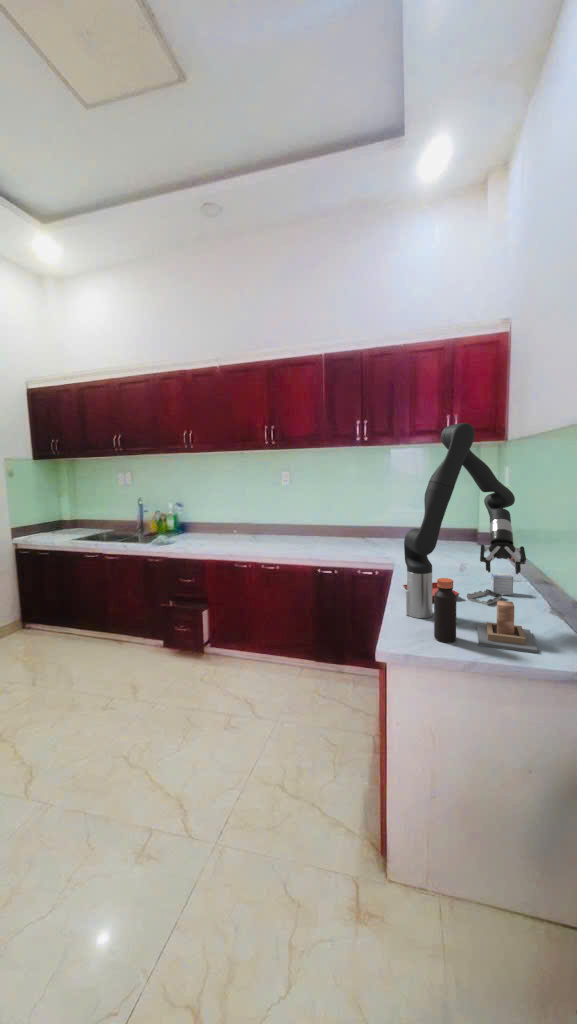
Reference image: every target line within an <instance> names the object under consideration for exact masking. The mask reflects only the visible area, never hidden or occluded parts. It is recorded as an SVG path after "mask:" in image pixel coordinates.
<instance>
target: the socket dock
mask: <svg viewBox="0 0 577 1024" xmlns="http://www.w3.org/2000/svg"><path fill="white" fill-rule="evenodd" d="M476 628H477V629H476V631H477V640H478V647H479V646H480V647H488V648H495V649H503V650H510V651H517V652H524V653H532V654H538V652H539V649H538V647H537V644H536V642H535V639H534V637H533V635H532V632H531V630H530V629H525V628H524V629H523V626H522V625H515V624H514V635H505V634H497V622H488V621H487V622H486V624H482V623H477V624H476Z"/></svg>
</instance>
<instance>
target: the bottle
mask: <svg viewBox="0 0 577 1024" xmlns="http://www.w3.org/2000/svg"><path fill="white" fill-rule="evenodd" d="M436 582H437V586H438V591H437V592H435V594H434V601H433V605H434V606H433V608H434V609H433V617H434V618H433V625H434V626H433V631H434V632H433V636H434V637H433V638H434V639H435V640H436V641H438V642H441V643H446V642H450V643H453V642H455V641H456V640H457V597H456V595H455V593H454V592H453V591H452V590H454V580H453V579H452V578H448V577H441V578H437V580H436Z"/></svg>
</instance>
